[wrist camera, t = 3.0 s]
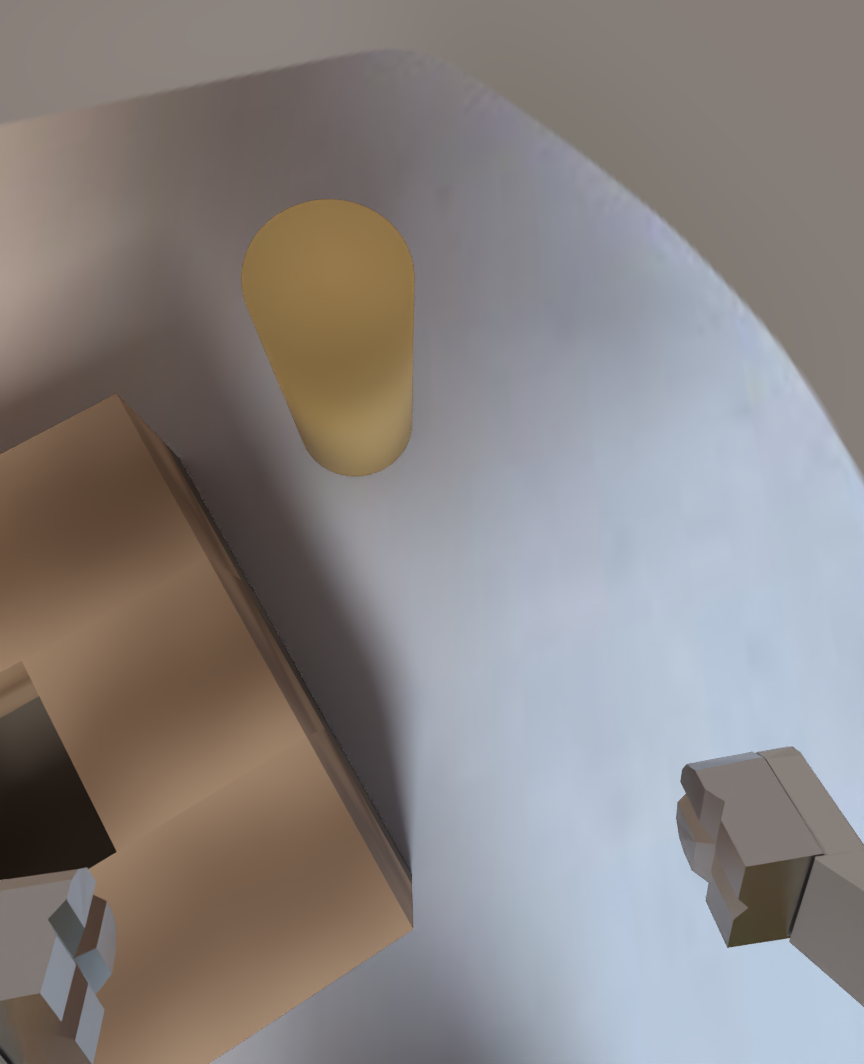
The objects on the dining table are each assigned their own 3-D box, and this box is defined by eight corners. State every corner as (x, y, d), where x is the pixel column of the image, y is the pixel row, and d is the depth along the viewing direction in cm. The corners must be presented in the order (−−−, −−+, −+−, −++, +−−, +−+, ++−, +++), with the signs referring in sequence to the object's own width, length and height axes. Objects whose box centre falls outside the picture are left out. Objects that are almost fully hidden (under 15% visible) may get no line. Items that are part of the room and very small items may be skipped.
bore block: (-266, 698, 25) (-469, 699, 19) (178, 457, 27) (116, 393, 22) (-60, 1178, 23) (-223, 1347, 17) (411, 873, 25) (413, 929, 19)
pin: (279, 403, 28) (210, 247, 18) (376, 350, 28) (360, 171, 19) (334, 496, 27) (294, 387, 18) (432, 441, 28) (446, 305, 18)
